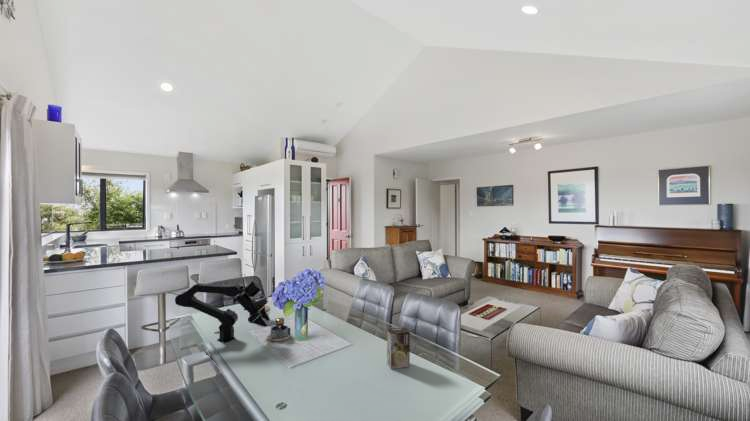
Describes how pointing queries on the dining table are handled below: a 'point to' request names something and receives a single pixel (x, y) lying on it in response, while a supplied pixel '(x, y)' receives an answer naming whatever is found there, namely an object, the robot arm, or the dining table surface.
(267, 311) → the lidded jar
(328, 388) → the dining table surface
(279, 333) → the press body
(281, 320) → the plunger
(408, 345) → the coffee box
